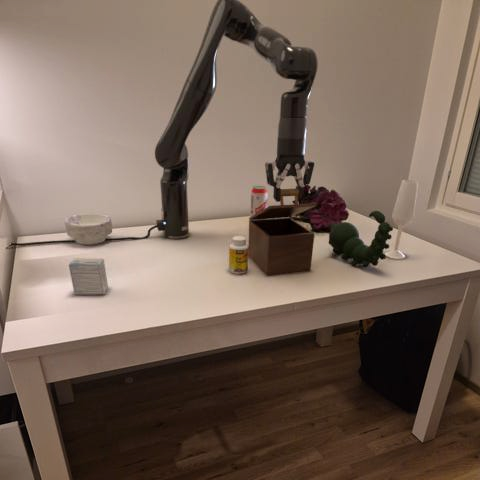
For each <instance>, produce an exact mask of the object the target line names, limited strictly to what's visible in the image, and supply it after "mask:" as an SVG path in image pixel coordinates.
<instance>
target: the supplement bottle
mask: <svg viewBox="0 0 480 480" xmlns="http://www.w3.org/2000/svg"><path fill="white" fill-rule="evenodd" d="M228 252H229V253H228V254H229V258H228V259H229V260H228V270H229V272H230V273H232V274H235V275H242V274H245V273H247V272H248V268H249V267H248V266H249V256H248V243H247V238H246V237H245V236H241V235H235V236H233V237H232V239H231V243H230V244H229V250H228Z"/></svg>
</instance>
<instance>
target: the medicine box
mask: <svg viewBox="0 0 480 480" xmlns="http://www.w3.org/2000/svg"><path fill="white" fill-rule="evenodd" d="M68 268H69V274H70V280H71V284H72V289H73V294H74V295H77V296H78V295H80V296H81V295H82V296H83V295H105V294H106V293H107V291H108V289H109V282H108V277H107V270H106V264H105V259H104V258H103V257H100V258H97V257H96V258H95V257H94V258H93V257H90V258H89V257H88V258H87V257H83V258H80V257H79V258H75V257H74V258H73V259H72V260H71V261H70V262H69V263H68Z"/></svg>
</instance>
